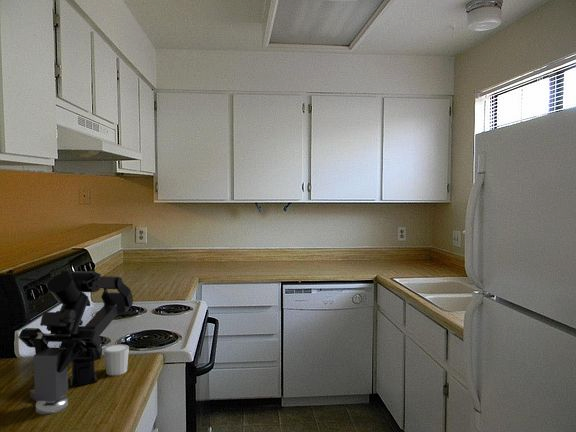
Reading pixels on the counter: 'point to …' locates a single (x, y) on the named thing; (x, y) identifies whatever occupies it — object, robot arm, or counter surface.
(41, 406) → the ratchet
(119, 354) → the white tapered cup
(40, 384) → the dark grey square block
